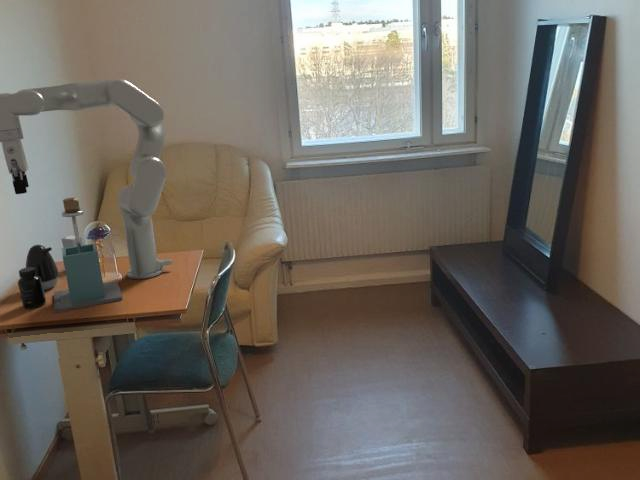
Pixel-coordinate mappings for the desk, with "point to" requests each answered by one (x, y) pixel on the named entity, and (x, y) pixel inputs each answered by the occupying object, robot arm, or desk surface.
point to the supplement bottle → (31, 288)
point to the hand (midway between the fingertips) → (22, 190)
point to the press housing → (84, 281)
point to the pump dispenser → (43, 265)
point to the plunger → (73, 216)
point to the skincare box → (70, 241)
